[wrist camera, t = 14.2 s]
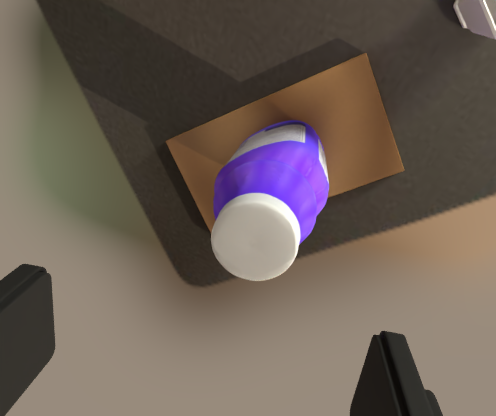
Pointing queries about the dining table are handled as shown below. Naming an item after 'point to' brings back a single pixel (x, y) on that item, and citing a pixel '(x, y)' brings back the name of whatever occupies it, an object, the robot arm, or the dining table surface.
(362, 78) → the mat
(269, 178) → the bottle
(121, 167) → the dining table surface
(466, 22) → the cup
